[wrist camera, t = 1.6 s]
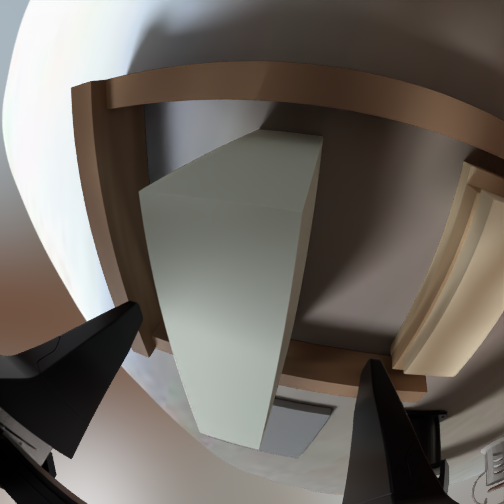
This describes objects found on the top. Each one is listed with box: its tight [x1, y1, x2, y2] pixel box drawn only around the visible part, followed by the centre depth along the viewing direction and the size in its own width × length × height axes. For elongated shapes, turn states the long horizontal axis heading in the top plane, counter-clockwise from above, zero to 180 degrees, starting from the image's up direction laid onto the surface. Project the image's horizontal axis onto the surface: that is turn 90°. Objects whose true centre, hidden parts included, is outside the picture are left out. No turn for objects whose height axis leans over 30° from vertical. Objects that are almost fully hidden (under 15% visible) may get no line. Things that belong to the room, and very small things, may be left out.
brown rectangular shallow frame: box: [71, 61, 504, 402], centre depth 13 cm, size 22×18×4 cm
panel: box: [139, 129, 323, 450], centre depth 11 cm, size 3×12×9 cm, turn 178°
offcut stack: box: [390, 161, 504, 377], centre depth 12 cm, size 4×13×4 cm, turn 178°
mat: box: [209, 399, 331, 458], centre depth 29 cm, size 14×18×1 cm
